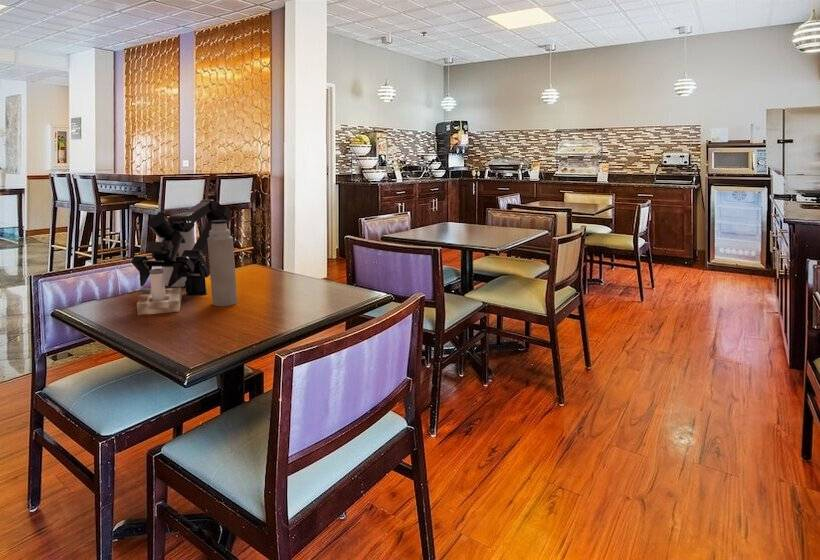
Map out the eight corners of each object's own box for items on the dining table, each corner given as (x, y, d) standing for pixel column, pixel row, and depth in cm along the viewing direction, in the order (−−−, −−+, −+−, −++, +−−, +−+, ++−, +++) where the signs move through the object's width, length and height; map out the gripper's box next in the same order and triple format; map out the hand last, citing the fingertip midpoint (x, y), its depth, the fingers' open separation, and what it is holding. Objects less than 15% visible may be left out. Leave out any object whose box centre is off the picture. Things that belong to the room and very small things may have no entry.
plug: (167, 307, 177) (163, 268, 175) (166, 310, 174) (162, 270, 171) (153, 308, 176) (149, 269, 173) (152, 311, 172) (148, 271, 170)
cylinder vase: (201, 280, 218) (196, 218, 213) (193, 287, 206) (187, 221, 201) (169, 281, 217) (163, 218, 211) (159, 288, 205) (152, 222, 199)
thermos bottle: (222, 299, 188) (216, 218, 182) (242, 301, 185) (236, 219, 179) (207, 305, 180) (200, 221, 174) (227, 307, 178) (221, 221, 172)
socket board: (181, 297, 191) (180, 283, 190) (179, 311, 172) (178, 296, 171) (144, 300, 187) (142, 286, 186) (137, 315, 168) (136, 299, 167)
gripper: (131, 231, 174) (114, 271, 166) (186, 231, 173) (172, 272, 164) (147, 251, 184) (131, 290, 175) (200, 252, 182) (187, 291, 174)
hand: (155, 286), depth 172 cm, fingers open, 9 cm apart
